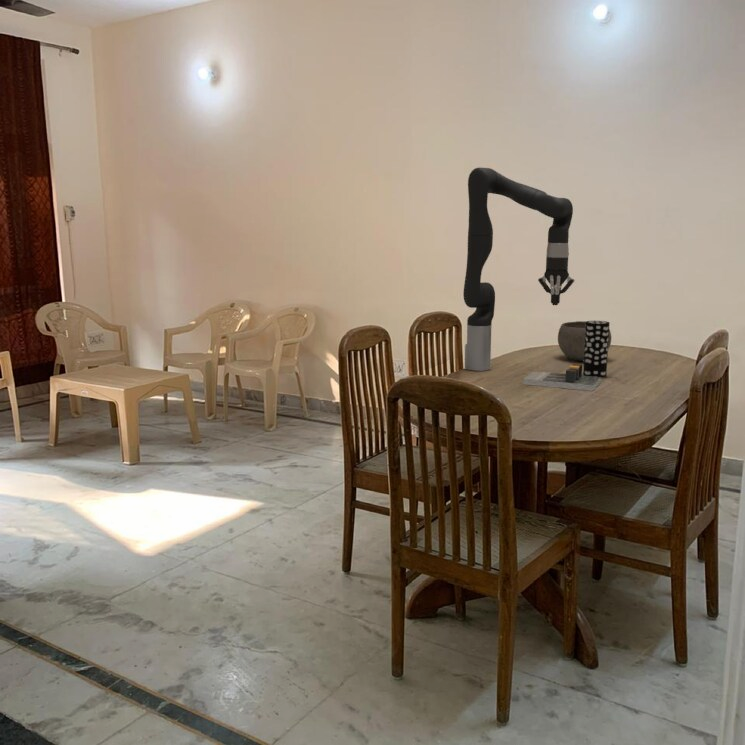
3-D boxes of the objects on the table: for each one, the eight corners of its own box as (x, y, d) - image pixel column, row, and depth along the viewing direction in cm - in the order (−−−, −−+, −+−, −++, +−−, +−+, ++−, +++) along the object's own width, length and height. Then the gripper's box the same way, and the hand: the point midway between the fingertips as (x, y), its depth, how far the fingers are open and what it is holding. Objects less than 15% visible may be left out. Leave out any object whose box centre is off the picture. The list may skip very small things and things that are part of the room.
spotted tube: (607, 378, 279) (610, 324, 275) (583, 377, 281) (586, 323, 277) (605, 373, 287) (608, 320, 283) (582, 373, 289) (585, 320, 285)
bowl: (550, 361, 311) (551, 324, 308) (566, 353, 329) (568, 318, 325) (601, 366, 301) (604, 328, 297) (615, 357, 318) (618, 322, 315)
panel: (523, 384, 271) (523, 367, 269) (533, 376, 283) (534, 360, 282) (592, 390, 260) (593, 373, 259) (600, 382, 273) (601, 365, 271)
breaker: (568, 378, 269) (569, 366, 268) (570, 376, 271) (571, 365, 270) (577, 378, 267) (577, 367, 267) (579, 377, 270) (579, 366, 269)
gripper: (536, 256, 269) (534, 305, 273) (574, 256, 264) (571, 307, 267) (541, 255, 276) (539, 303, 280) (578, 255, 270) (576, 304, 274)
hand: (555, 304), depth 273 cm, fingers closed
